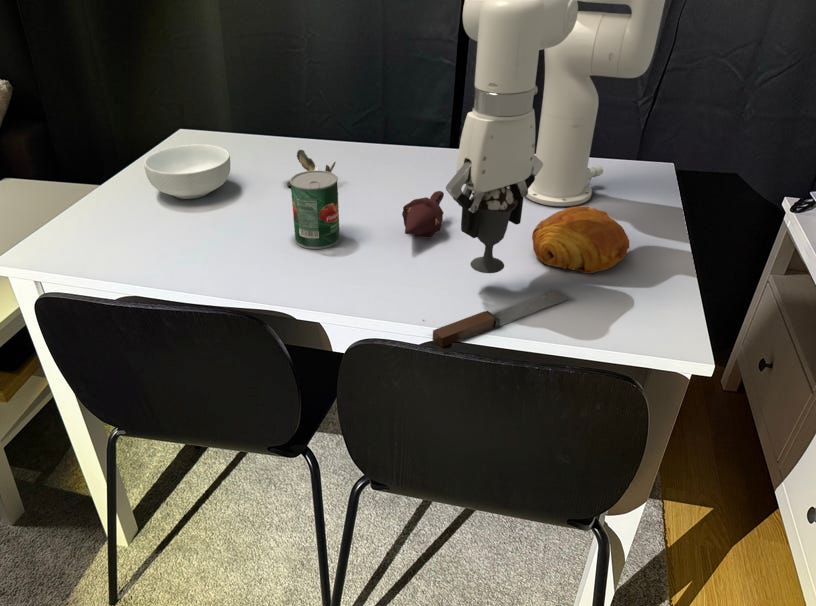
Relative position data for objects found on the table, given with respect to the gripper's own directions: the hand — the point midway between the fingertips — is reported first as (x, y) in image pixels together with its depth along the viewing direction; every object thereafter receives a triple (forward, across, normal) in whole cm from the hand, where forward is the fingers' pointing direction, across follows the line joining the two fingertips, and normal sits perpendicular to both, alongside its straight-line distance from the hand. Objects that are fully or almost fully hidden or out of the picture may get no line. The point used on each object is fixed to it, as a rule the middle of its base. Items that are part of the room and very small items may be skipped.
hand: (490, 226), depth 102 cm
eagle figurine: (+11, +3, -52) cm, 53 cm away
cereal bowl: (+11, +24, -62) cm, 68 cm away
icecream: (+11, -3, -20) cm, 23 cm away
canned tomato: (+11, +13, -30) cm, 34 cm away
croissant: (+11, -20, 0) cm, 23 cm away
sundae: (+6, 0, 0) cm, 6 cm away
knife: (+11, +2, +8) cm, 13 cm away
